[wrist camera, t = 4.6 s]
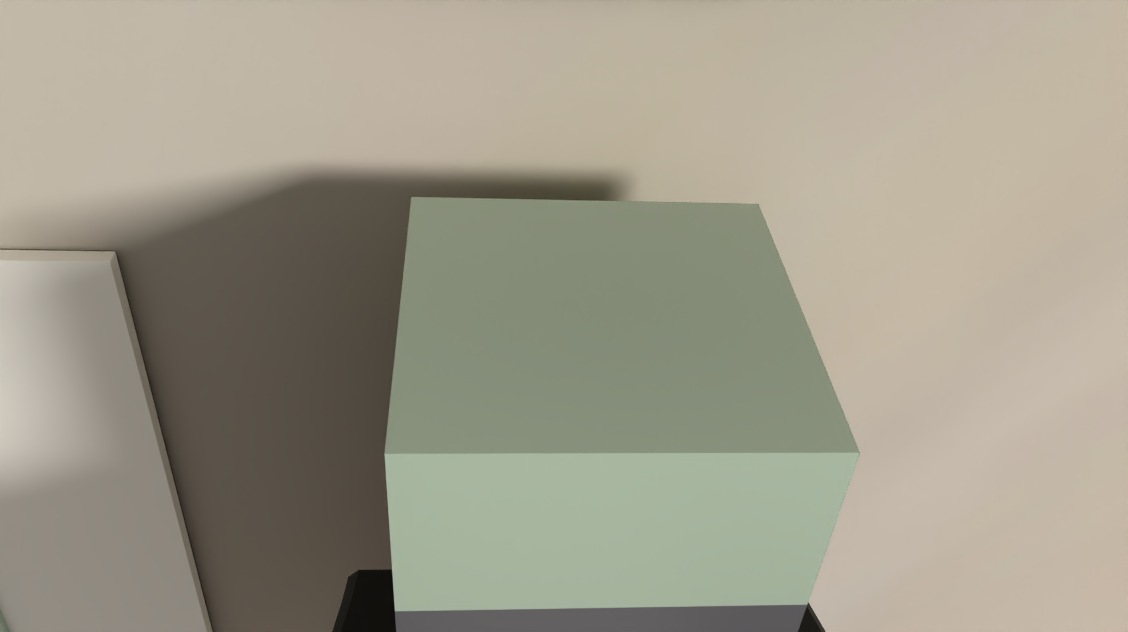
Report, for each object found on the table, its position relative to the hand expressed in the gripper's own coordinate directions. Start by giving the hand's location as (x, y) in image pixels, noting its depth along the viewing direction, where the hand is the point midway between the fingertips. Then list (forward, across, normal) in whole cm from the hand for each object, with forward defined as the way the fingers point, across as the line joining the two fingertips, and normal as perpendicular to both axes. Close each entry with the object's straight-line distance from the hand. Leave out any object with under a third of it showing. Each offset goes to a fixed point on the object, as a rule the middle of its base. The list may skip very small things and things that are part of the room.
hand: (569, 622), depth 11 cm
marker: (+2, 0, 0) cm, 2 cm away
